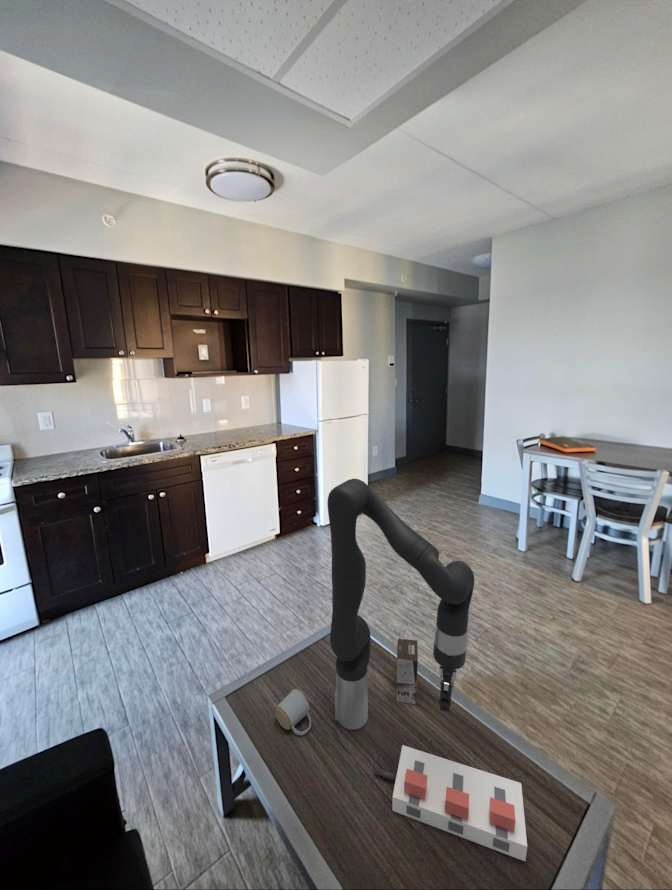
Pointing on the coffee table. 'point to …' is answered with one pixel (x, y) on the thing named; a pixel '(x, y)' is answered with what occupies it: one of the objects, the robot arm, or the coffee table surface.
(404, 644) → the coffee box
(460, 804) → the toggle
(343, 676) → the robot arm
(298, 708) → the ceramic mug
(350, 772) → the coffee table surface
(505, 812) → the toggle
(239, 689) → the coffee table surface
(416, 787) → the toggle
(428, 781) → the slider control panel
